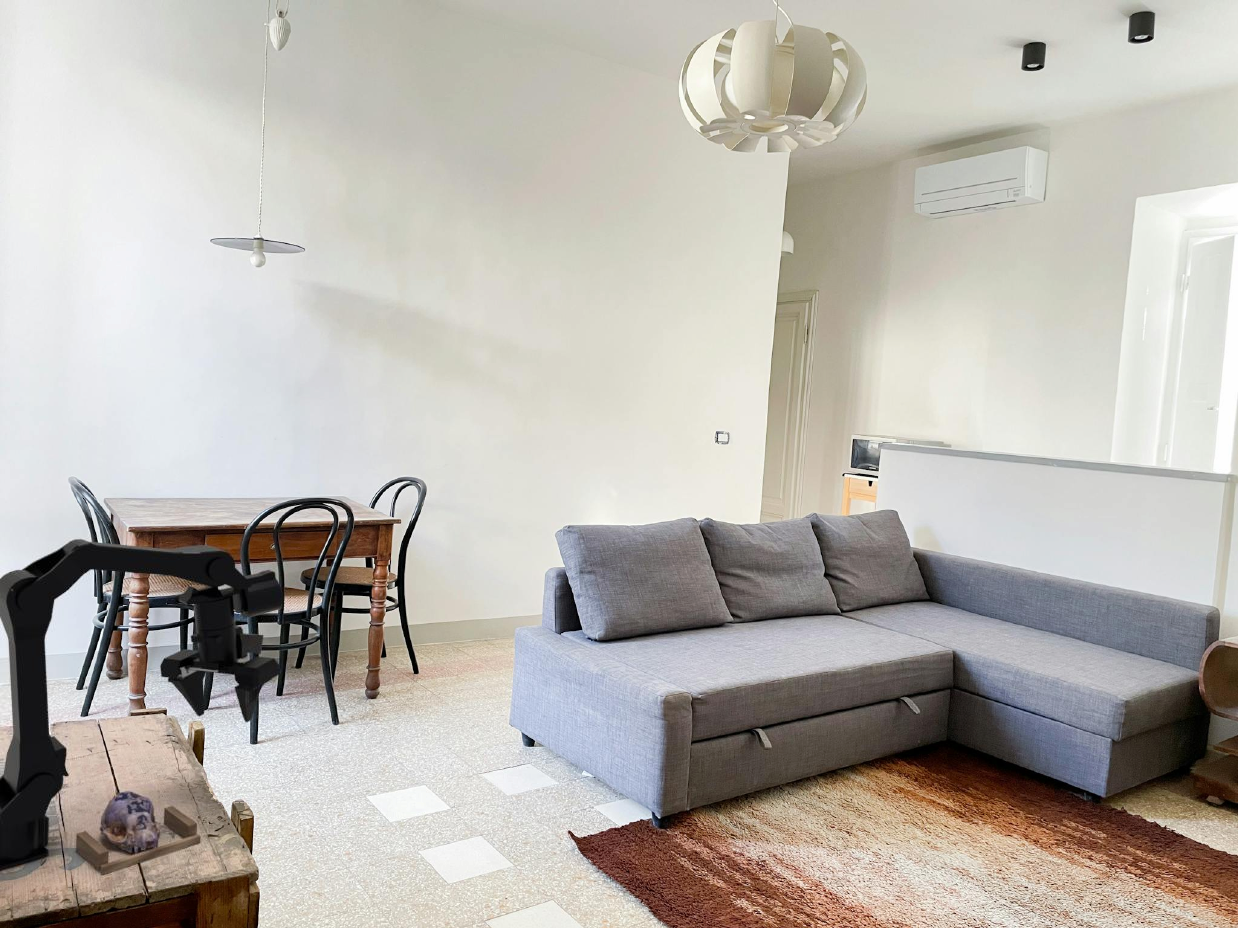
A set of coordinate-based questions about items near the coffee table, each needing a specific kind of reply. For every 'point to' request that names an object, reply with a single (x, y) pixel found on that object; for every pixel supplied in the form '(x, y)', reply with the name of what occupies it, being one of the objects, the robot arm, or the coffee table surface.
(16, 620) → the robot arm
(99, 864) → the rail notch
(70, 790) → the coffee table surface
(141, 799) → the skull
